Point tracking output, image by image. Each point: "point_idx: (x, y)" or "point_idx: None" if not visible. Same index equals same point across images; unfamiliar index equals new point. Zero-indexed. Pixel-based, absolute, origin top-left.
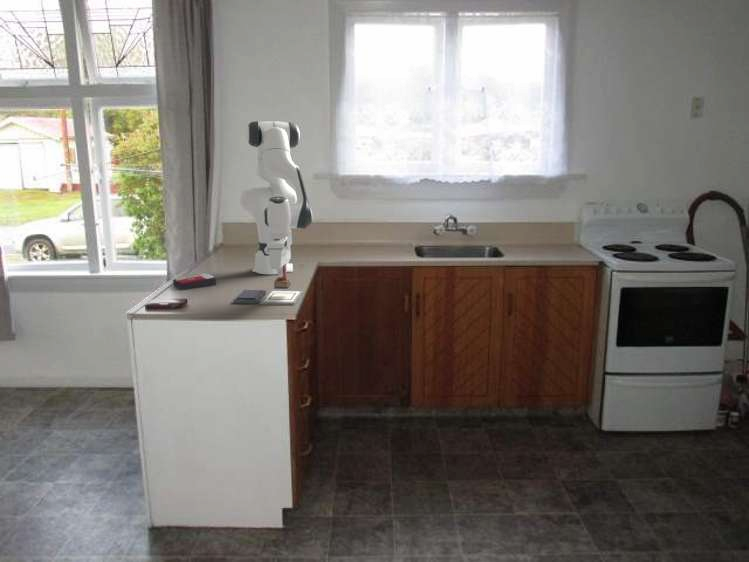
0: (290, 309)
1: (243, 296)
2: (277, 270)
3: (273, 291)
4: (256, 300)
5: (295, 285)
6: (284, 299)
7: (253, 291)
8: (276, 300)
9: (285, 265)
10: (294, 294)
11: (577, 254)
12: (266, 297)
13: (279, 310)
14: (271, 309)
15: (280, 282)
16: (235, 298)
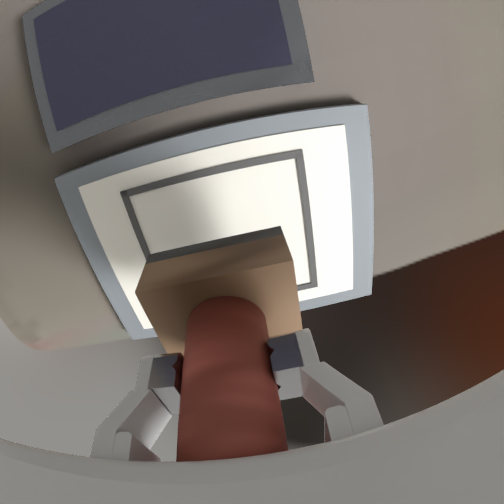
0: (75, 336)
1: (67, 33)
2: (111, 420)
3: (338, 131)
4: (53, 150)
5: (494, 195)
6: None
7: (228, 12)
8: (122, 251)
9: None
10: None
11: None
12: (169, 150)
13: (41, 304)
14: (31, 270)
15: (158, 332)
16: (41, 8)
